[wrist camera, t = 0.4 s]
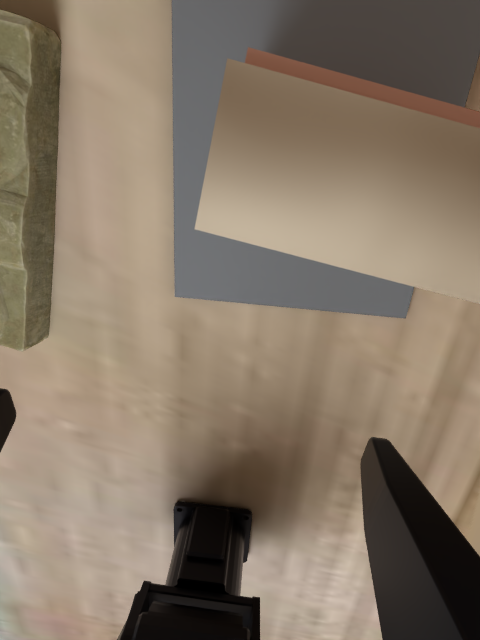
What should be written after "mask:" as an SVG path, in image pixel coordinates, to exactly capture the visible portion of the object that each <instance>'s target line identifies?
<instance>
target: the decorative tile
mask: <svg viewBox="0 0 480 640" xmlns="http://www.w3.org/2000/svg"><path fill="white" fill-rule="evenodd" d="M60 61H61V42H60V40H59V38H58V36H57V35H56V33H55V32H54V31H53V30H51V29H49V28H48V27H46V26H44V25H42V24H40V23H38V22H36V21H33V20H30V19H28V18H25V17H22V16H20V15H17V14H14V13H10V12H7V11H4V10H0V345H1V346H5V347H9V348H13V349H16V350H18V351H24V350H26V349H28V348H30V347H32V346H34V345H36V344H38V343H40V342H41V341H43V340H44V339H46V338H48V335H49V323H50V308H51V291H52V273H53V255H54V235H55V202H56V177H57V154H58V120H59V87H60Z"/></svg>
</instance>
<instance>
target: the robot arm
mask: <svg viewBox="0 0 480 640" xmlns="http://www.w3.org/2000/svg"><path fill="white" fill-rule="evenodd" d="M15 419H16V410H15V407H14V404H13V401H12V397H11V394H10V392H9V391H8V390H7V389H1V388H0V452H1V450H2V448H3V446H4V443H5V441H6V439H7V437H8V435H9V433H10V431H11V428H12V426H13V424H14V422H15ZM361 484H362V501H363V519H364V531H365V538H366V544H367V550H368V556H369V562H370V568H371V573H372V579H373V585H374V591H375V597H376V603H377V609H378V615H379V621H380V626H381V632H382V638H383V640H480V556H479V555H478V554H477V552H476V551H475V550H474V549H473V547H472V546H471V545H470V543H469V542H468V541H467V540H466V538H465V537H464V536H463V534H462V533H461V532H460V531H459V529H458V528H457V527H456V526H455V524H454V523H453V522H452V520H451V519H450V518H449V517H448V515H447V514H446V513H445V511H444V510H443V509H442V508H441V506H440V505H439V504H438V502H437V501H436V500H435V499H434V497H433V496H432V495H431V494H430V492H429V491H428V490H427V488H426V487H425V486H424V485H423V483H422V482H421V481H420V479H419V478H418V477H417V476H416V474H415V473H414V472H413V471H412V469H411V468H410V467H409V465H408V464H407V463H406V462H405V460H404V459H403V458H402V456H401V455H400V454H399V453H398V451H397V450H396V449H395V448H394V446H393V445H392V444H391V442H390V441H389V440H387V439H383V438H376V437H371V438H370V439H369V441H368V443H367V446H366V448H365V451H364V453H363V456H362V459H361ZM251 522H252V512H251V511H250V510H246V509H238V508H229V507H221V506H212V505H204V504H195V503H187V502H177V503H175V506H174V551H173V555H172V560H171V564H170V568H169V572H168V576H167V580H166V584H165V585H160V584H154V583H151V582H150V581H144V582H143V585H142V587H141V590H140V591H138V593H137V594H135V597H134V600H133V604H132V607H131V610H130V613H129V616H128V619H127V621H126V623H125V625H124V627H123V629H122V631H121V633H120V635H119V637H118V639H117V640H260V597H252V598H250V597H243V596H240V592H241V580H242V567H243V563H245V562H246V561H247V557H248V548H249V539H250V531H251Z"/></svg>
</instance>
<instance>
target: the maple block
mask: <svg viewBox="0 0 480 640" xmlns="http://www.w3.org/2000/svg"><path fill="white" fill-rule="evenodd" d="M195 229H196V230H199V231H203V232H207V233H211V234H215V235H218V236H222V237H226V238H230V239H234V240H237V241H241V242H245V243H249V244H253V245H257V246H260V247H264V248H268V249H272V250H276V251H279V252H283V253H287V254H291V255H295V256H298V257H302V258H306V259H310V260H314V261H317V262H321V263H325V264H329V265H333V266H336V267H340V268H344V269H348V270H352V271H355V272H359V273H363V274H367V275H371V276H375V277H378V278H382V279H386V280H390V281H394V282H397V283H401V284H405V285H409V286H413V287H416V288H420V289H424V290H428V291H432V292H435V293H439V294H443V295H447V296H451V297H454V298H458V299H462V300H466V301H470V302H473V303H477V304H480V112H479V111H475V110H471V109H468V108H464V107H461V106H457V105H454V104H450V103H446V102H443V101H439V100H436V99H432V98H428V97H425V96H421V95H418V94H414V93H411V92H407V91H403V90H400V89H396V88H393V87H389V86H385V85H382V84H378V83H375V82H371V81H368V80H364V79H360V78H357V77H353V76H350V75H346V74H343V73H339V72H335V71H332V70H328V69H325V68H321V67H317V66H314V65H310V64H307V63H303V62H300V61H296V60H292V59H289V58H285V57H282V56H278V55H274V54H271V53H267V52H264V51H260V50H257V49H253V48H249V47H248V50H247V54H246V59H245V63H243V62H239V61H236V60H232V59H229V58H227V62H226V68H225V73H224V78H223V83H222V88H221V94H220V99H219V104H218V109H217V114H216V120H215V125H214V130H213V135H212V141H211V146H210V151H209V156H208V161H207V167H206V172H205V177H204V182H203V187H202V193H201V198H200V203H199V208H198V213H197V219H196V224H195Z"/></svg>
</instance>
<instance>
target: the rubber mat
mask: <svg viewBox="0 0 480 640" xmlns="http://www.w3.org/2000/svg"><path fill="white" fill-rule="evenodd" d="M248 47H249V48H253V49H257V50H260V51H264V52H267V53H271V54H274V55H278V56H282V57H285V58H289V59H292V60H296V61H300V62H303V63H307V64H310V65H314V66H317V67H321V68H325V69H328V70H332V71H335V72H339V73H343V74H346V75H350V76H353V77H357V78H360V79H364V80H368V81H371V82H375V83H378V84H382V85H385V86H389V87H393V88H396V89H400V90H403V91H407V92H411V93H414V94H418V95H421V96H425V97H428V98H432V99H436V100H439V101H443V102H446V103H450V104H454V105H457V106H461V107H464V108H465V104H466V101H467V97H468V93H469V90H470V86H471V83H472V79H473V75H474V72H475V68H476V65H477V61H478V58H479V54H480V0H172V68H173V166H174V264H175V297H183V298H193V299H204V300H215V301H225V302H236V303H247V304H257V305H268V306H279V307H289V308H300V309H311V310H321V311H332V312H343V313H353V314H364V315H374V316H385V317H396V318H406V315H407V312H408V308H409V304H410V301H411V297H412V294H413V290H414V287H413V286H409V285H405V284H401V283H397V282H394V281H390V280H386V279H382V278H378V277H375V276H371V275H367V274H363V273H359V272H355V271H352V270H348V269H344V268H340V267H336V266H333V265H329V264H325V263H321V262H317V261H314V260H310V259H306V258H302V257H298V256H295V255H291V254H287V253H283V252H279V251H276V250H272V249H268V248H264V247H260V246H257V245H253V244H249V243H245V242H241V241H237V240H234V239H230V238H226V237H222V236H218V235H215V234H211V233H207V232H203V231H199V230H196V229H195V224H196V219H197V213H198V208H199V203H200V198H201V193H202V187H203V182H204V177H205V172H206V167H207V161H208V156H209V151H210V146H211V141H212V135H213V130H214V125H215V120H216V114H217V109H218V104H219V99H220V94H221V88H222V83H223V78H224V73H225V68H226V62H227V58H229V59H232V60H236V61H239V62H243V63H245V59H246V54H247V50H248Z"/></svg>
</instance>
